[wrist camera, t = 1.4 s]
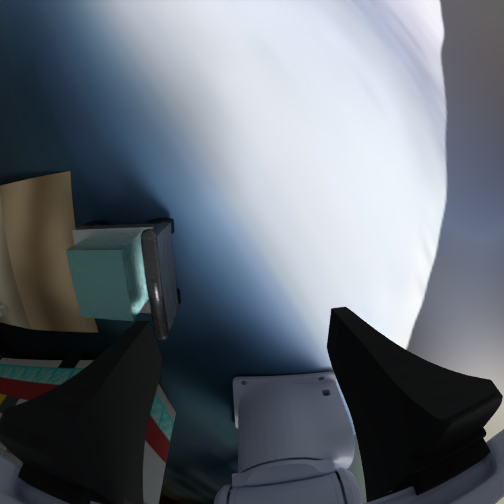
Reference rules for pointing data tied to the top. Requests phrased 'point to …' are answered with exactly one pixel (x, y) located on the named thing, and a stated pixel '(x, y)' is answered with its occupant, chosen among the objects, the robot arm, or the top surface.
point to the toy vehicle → (58, 371)
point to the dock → (38, 255)
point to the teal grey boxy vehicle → (125, 272)
